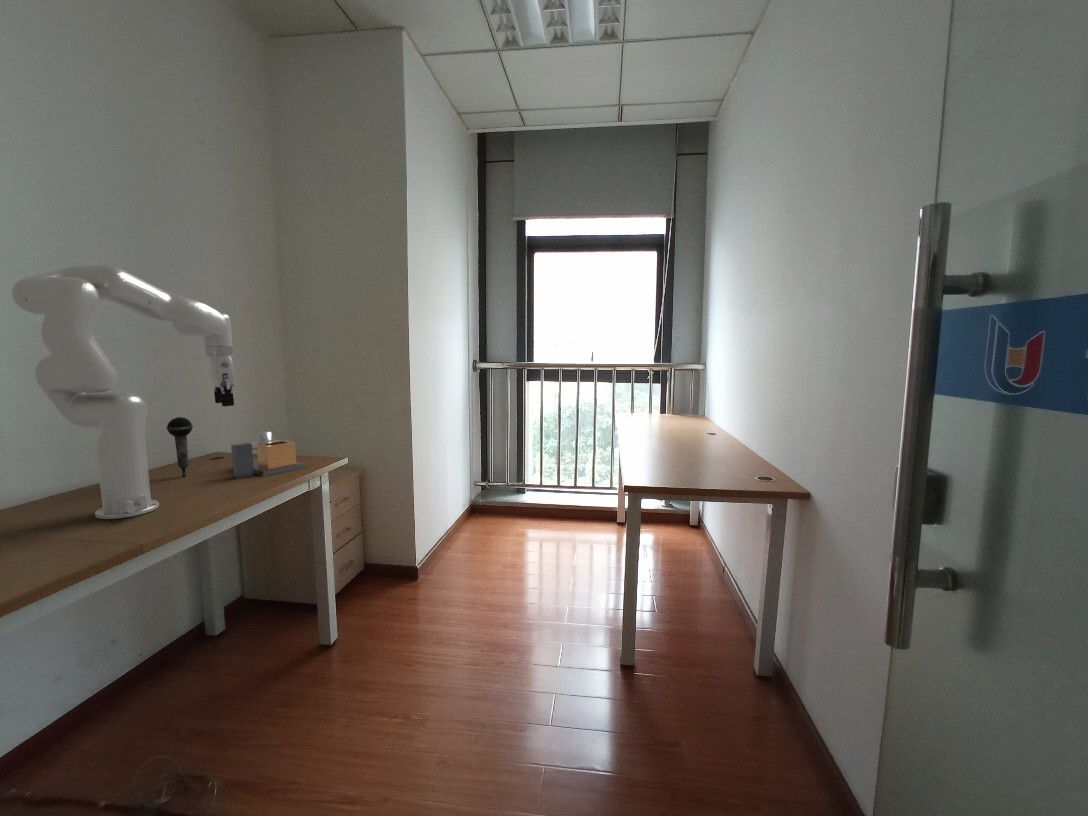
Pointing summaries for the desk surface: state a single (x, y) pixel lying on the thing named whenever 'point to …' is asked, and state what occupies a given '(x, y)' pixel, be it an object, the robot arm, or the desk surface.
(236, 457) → the grey rectangular block
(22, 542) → the desk surface
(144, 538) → the desk surface
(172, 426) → the microphone
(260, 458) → the orange slotted box
